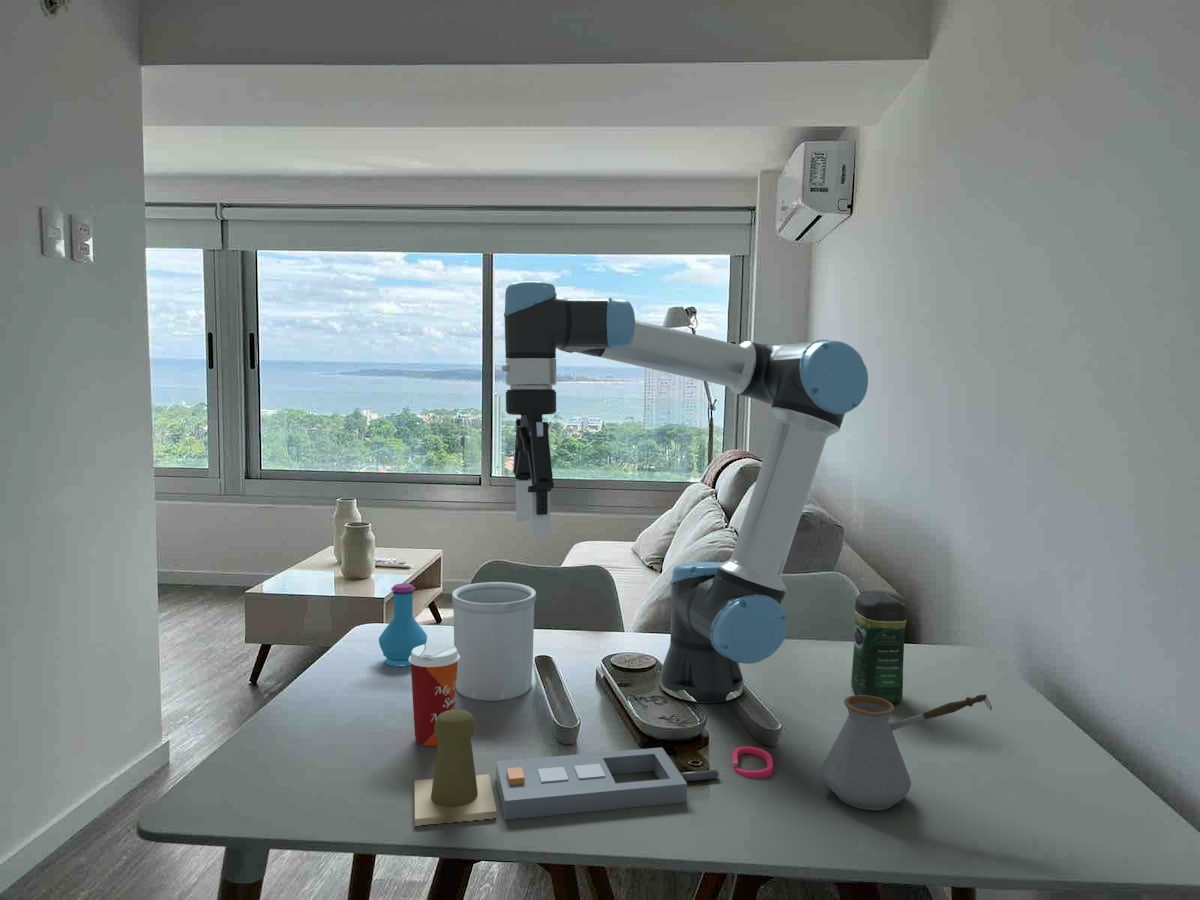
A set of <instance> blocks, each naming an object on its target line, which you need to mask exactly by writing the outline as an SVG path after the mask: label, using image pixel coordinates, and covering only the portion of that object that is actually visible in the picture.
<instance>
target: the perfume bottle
mask: <svg viewBox="0 0 1200 900" xmlns="http://www.w3.org/2000/svg"><path fill="white" fill-rule="evenodd" d="M414 590H416V587H415V586H414V585H413V584H411V583H405V582H404V583H396V584H394V585H393V586H392V587H391V589H390V591H392V595H393V618H392V619H391V620H390V622H389V623H388V625H387V626H386V627H385V629H384V630H383V631H382V633H381V634H380V636H378V642H379V648H380V650H381V652H382V654H383V656H384V657H385V658H386V659H385V663H386V662H387V663H388V664H391V665H410V664H411V663H410V662H409V657H410V656H411V652H412V650H413V649H414V648H415V647H417V646H420V645H424V644H427V640H428V635H427V633H426V632H425V630H424V629H423V627H422V626H420V624H419V623H418V621H417V620H416V619H415V618H414V616H413V598H414V597H413V596H414ZM388 664H387V665H388Z"/></svg>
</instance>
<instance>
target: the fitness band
mask: <svg viewBox="0 0 1200 900" xmlns="http://www.w3.org/2000/svg"><path fill="white" fill-rule="evenodd" d="M741 754H749V755H754V756H757V757H760V758H762V759H763V760H765V762H766V767H765V768H762V769H758V770H747V769H746V770H745V769H741V768H740V767H739V759H738V757H739V755H741ZM773 762H774V761H773V756H772V755H771V754H770V753H769V752H768V751H767V750H765V749H763V748H760V747H757V746H756V747H755V746H747V745H746V746H739V747H736V748H735V749H734V750H733V752H732V762H731V764H732V769H733V770H734V772H735V773H737V775H739V776H740V775H741V776H743V777H746V778H752V779H763V778H768V777H769V776H771V775H772V774H773V771H774V763H773Z"/></svg>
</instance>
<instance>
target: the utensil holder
mask: <svg viewBox="0 0 1200 900" xmlns="http://www.w3.org/2000/svg"><path fill="white" fill-rule="evenodd" d="M536 600H537V592H536V590H535V589H534V588H532V587H531V586H529V585H525V584H523V583H522V584H521V583H516V582H507V581H505V582H504V581H489V582H477V583H470V584H465V585H462V586H460V587H458V588H455V589H454V590H453V591H452V593H451V601H452V603H453V641H454V642H453V646H454V647H456V649H457V652H458V654H459V656H460V659H459V660H458V664H457V680H456V692H458V694H460V695H461V696H463V697H464V698H467V699H472V700H477V701H483V700H484V701H487V702H489V701H490V702H496V701H505V700H510V699H515V698H517V697H518V698H519V697H520V696H523V695H525V694H526V693H528V691H530V689H531V687H532V682H533V681H532V680H533V665H534V664H533V659H534V658H533V657H534V632H535V631H534V629H535V628H534V626H535V625H534V624H535V619H534V618H535V603H536Z"/></svg>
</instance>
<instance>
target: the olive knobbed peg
mask: <svg viewBox="0 0 1200 900" xmlns="http://www.w3.org/2000/svg"><path fill="white" fill-rule="evenodd" d="M475 730H476V722H475V718H474V716H473V715H472V713H471V712H469V711H468V710H463V709H455V710H448V711H445V712H443V713H441V714H440V715H439V716H438V717H437V719H436V722H435V726H434V731H435V735H436V737H437V738H438V739H439V742H438V746H437V751H436V756H435V757H436V759H435V765H434V772H433V778H432V779H433V785H432V793H431V799H432V801H433V802H434V803H435V804H437V805H440V806H444V807H458V806H464V805H466V804H469V803H471V802H472V801H474V800H475V799H476V798H477V796H478V791H477V783H476V768H475V767H476V766H475V760H474V753H473V746H472V744H473V743H472V737H473V735H474V732H475Z"/></svg>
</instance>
